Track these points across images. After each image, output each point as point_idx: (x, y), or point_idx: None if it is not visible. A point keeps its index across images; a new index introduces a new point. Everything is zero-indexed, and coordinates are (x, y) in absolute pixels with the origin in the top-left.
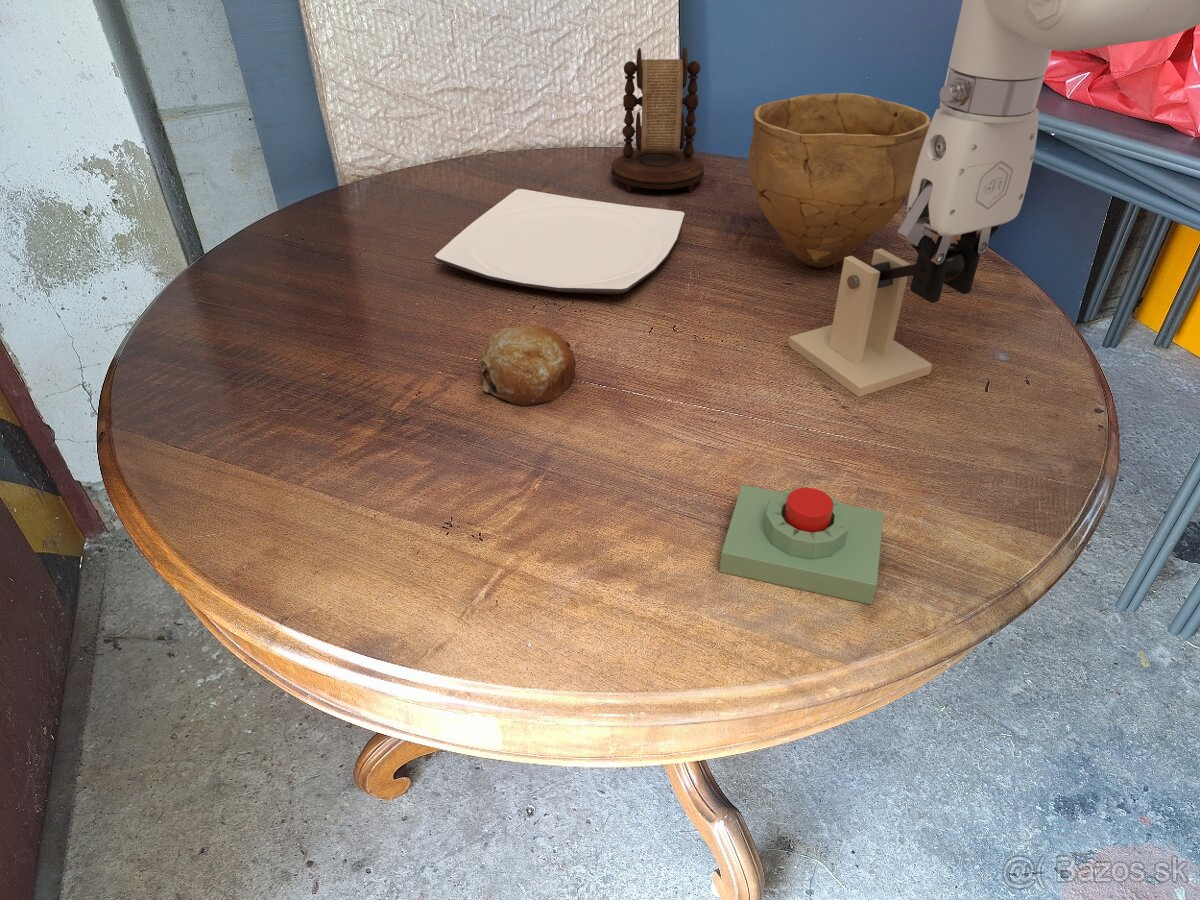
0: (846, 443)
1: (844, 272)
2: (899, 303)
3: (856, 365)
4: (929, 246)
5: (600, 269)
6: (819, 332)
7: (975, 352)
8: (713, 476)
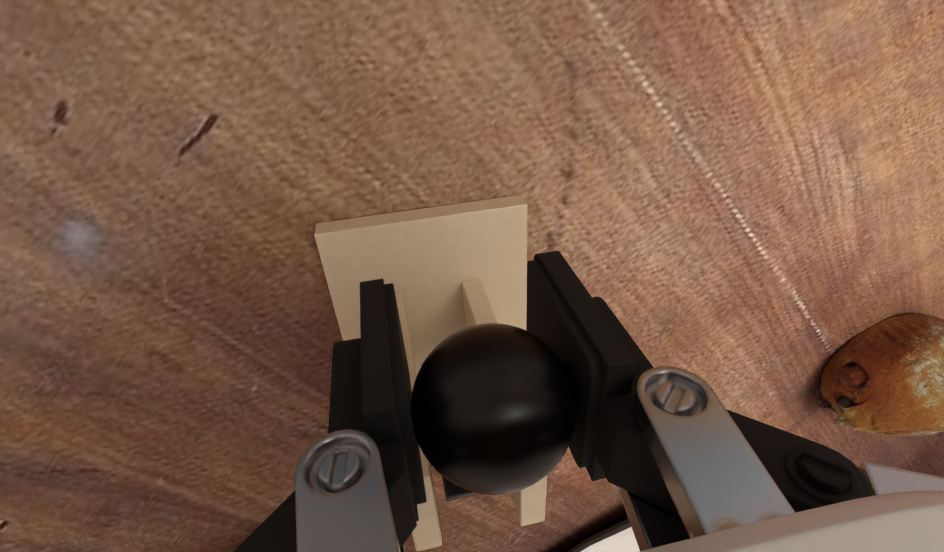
0: (656, 57)
1: None
2: None
3: (479, 275)
4: (788, 459)
5: (627, 550)
6: None
7: (146, 269)
8: (910, 64)
